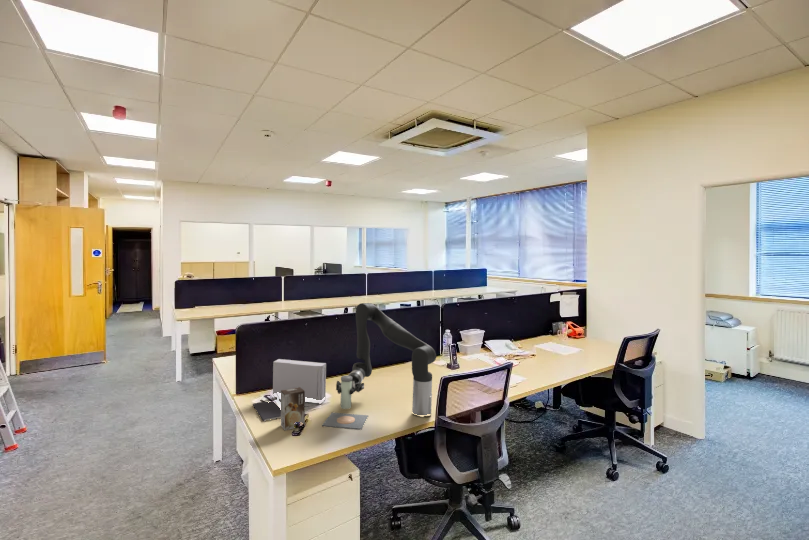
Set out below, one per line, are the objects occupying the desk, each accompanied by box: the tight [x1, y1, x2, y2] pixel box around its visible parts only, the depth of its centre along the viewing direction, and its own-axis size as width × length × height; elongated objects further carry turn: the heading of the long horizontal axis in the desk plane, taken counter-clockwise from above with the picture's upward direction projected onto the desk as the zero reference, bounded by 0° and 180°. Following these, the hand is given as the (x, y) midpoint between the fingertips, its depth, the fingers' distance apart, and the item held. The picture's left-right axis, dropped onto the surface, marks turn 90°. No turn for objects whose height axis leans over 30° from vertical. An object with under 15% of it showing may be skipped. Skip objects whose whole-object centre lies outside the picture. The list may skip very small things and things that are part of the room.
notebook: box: [252, 401, 281, 422], centre depth 186 cm, size 13×2×21 cm
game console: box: [272, 358, 327, 400], centre depth 200 cm, size 6×27×20 cm, turn 78°
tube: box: [340, 374, 352, 410], centre depth 177 cm, size 5×5×14 cm
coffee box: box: [280, 387, 306, 431], centre depth 170 cm, size 9×6×16 cm
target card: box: [321, 411, 369, 430], centre depth 177 cm, size 18×14×1 cm
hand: (344, 392), depth 174 cm, fingers closed on tube, 4 cm apart
